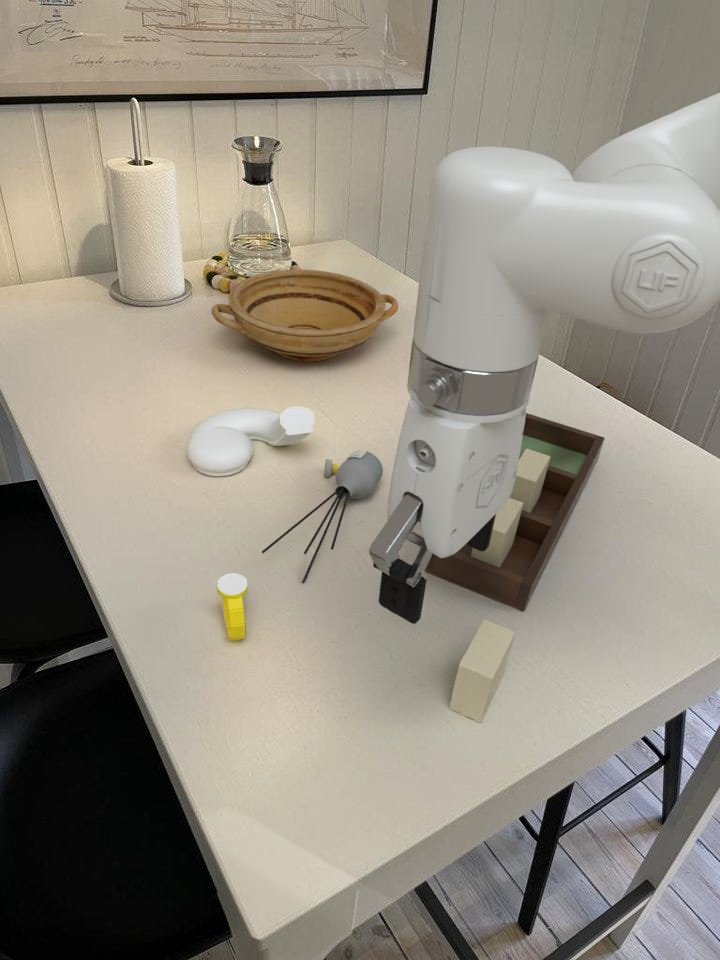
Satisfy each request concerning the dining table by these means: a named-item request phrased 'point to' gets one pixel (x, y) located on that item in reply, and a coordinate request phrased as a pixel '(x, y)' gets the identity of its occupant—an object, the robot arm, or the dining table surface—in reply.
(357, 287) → the ceramic bowl
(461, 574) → the tray
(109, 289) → the dining table surface
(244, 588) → the watch
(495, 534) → the block
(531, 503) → the block
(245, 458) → the sculpture
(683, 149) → the robot arm
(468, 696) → the cream rectangular block
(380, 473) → the reed diffuser
